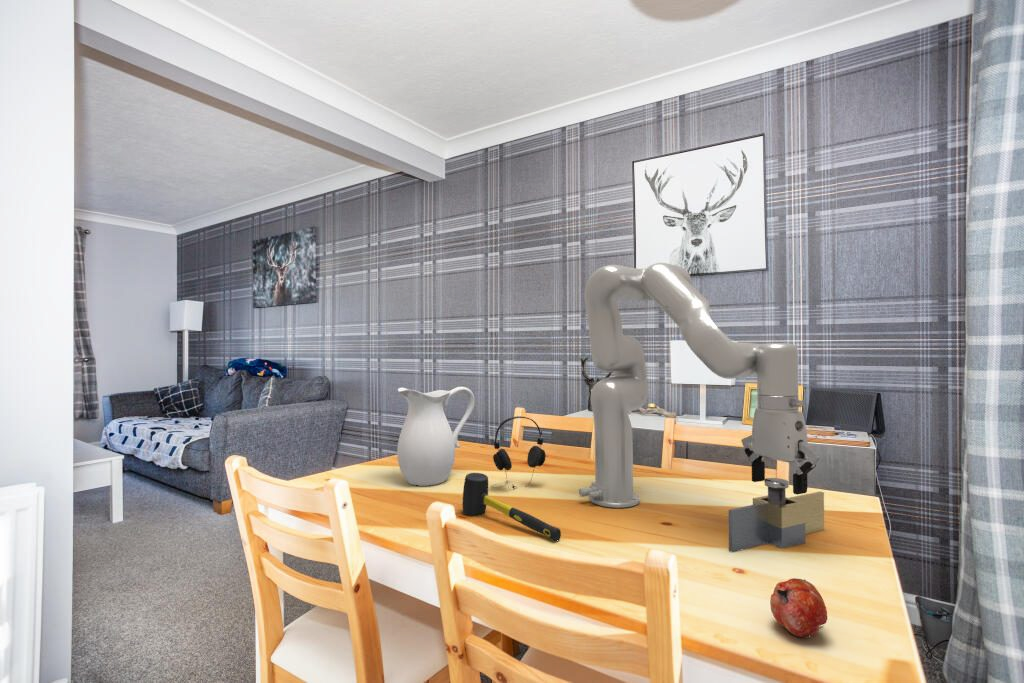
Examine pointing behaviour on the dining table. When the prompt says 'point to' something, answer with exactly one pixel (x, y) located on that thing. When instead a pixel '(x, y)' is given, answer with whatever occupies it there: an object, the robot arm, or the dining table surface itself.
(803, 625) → the pomegranate
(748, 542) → the hinge
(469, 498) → the mallet
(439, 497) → the dining table surface
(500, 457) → the headphones
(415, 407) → the pitcher
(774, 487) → the hinge pin
